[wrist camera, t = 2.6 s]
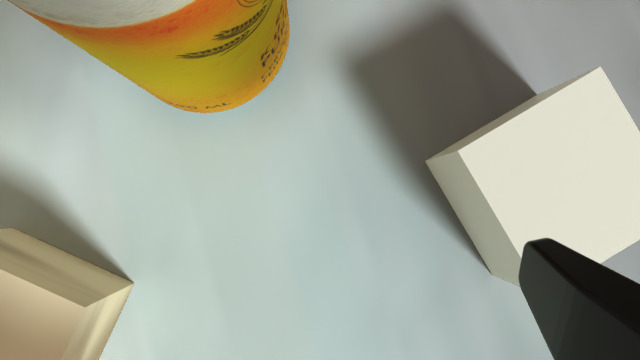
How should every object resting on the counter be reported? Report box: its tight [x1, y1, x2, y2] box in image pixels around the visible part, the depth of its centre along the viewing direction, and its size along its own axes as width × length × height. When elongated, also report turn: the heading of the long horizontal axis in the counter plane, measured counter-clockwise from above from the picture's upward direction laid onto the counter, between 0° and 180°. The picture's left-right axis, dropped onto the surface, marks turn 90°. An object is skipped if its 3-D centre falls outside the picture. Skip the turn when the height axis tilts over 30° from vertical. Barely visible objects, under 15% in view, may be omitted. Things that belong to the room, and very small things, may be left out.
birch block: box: [0, 228, 134, 360], centre depth 20 cm, size 5×5×5 cm
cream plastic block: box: [425, 67, 640, 287], centre depth 20 cm, size 5×5×5 cm
